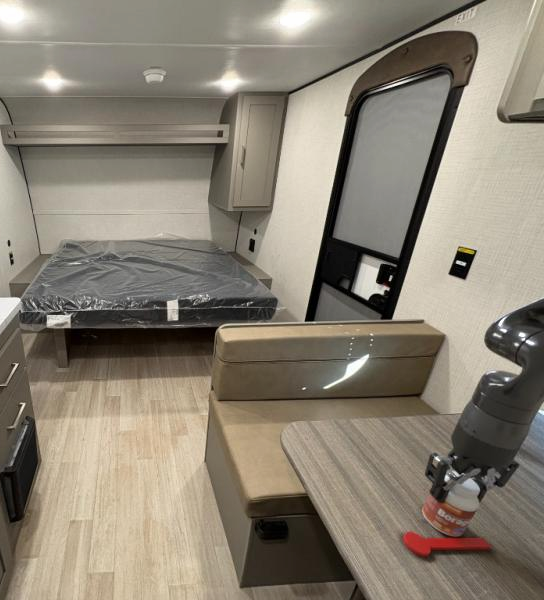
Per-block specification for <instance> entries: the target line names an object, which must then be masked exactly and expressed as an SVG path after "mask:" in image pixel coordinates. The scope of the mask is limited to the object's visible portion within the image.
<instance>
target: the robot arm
mask: <svg viewBox="0 0 544 600" xmlns="http://www.w3.org/2000/svg"><path fill="white" fill-rule="evenodd" d="M483 341H484V346H485V347H486V348H487V349H488V350H489V351H490V352H492V353H493V354H495V355H497V356H499V357H501V358H502V359H504V360H506V361H508V362H509V363H512V364H514V365H516V366H518V367H520V368H521V371H520V373H514V372H510V371H506V370H498V369H497V370H495V369H493V370H490V371H486V372H485V373H483V374H482V376H481V377H480V379H479V381H478V383H477V385H476V387H475V389H474V390H473V393H472V395H471V398H470V399H469V400H468V402H467V404H466V405H465V406H464V408H463V410H462V412H461V414H460V417H459V419H458V420H457V423H456V425H455V427H454V429H453V432H452V434H451V436H450V440H451V443H452V449H451V450H450V451H449V452H448V453H447V454H446V455H442V456H440V455H439V454H438V453H437V452H431V453H430V454H429V458H428V461H427V464H426V468H425V472H424V476H425V477H426V479H428V481H429V482H430V483H431V484H432V485H431V487H430V489H429V494H431V495H432V497H433V498H434V499H435V500H436V501H437V502H438V503H444V502H445V500H446V498H447V496H448V494H449V492H450V489H451V488H452V487H453V486H455V485H456V484H463V483H464V482H465V481H466V480H468V479H469V478H471V479H472V480H473V481H474V482H476V484H477V485H478V486H479V488H480V492H479V494H478V496H477V498H478V500H479V504H480V503H481V502H482V500H483V499H484V498H485V495H486V494H487V492H488V491H491V490H493V489H494V488H495V487H496V486H497V488H503V487H505V486H506V484H507V483H508V482H509V481H510V480H511V478H512V476H513V475H514V474H515V472H516V471H517V470H518V468H519V467H520V464H519V462H517V461H516V460H515V458H516V456H517V455H518V452H519V451H520V449H521V448H522V445H523V444H524V442H525V441H526V439H527V437H528V435H529V433H530V431H531V426H532V424H533V422H534V420H535V419H536V416H537V415H538V413H539V411H540V409H541V407H542V406H543V404H544V296H543V297H541V298H539V299H536V300H534V301H532V302H530V303H527V304H525V305H522V306H521V307H518V308H517V309H514V310H512V311H510V312H508V313H506V314H504V315H502V316H500V317H499V318H497V319H495V320H494V321H493V322H492V323H491V324H490V325H489V327H487V329H486V331H485V333H484V337H483ZM451 469H452V470H451ZM452 471H455V472H457V473H458V474H459V476H458V477H457V476H456V475H455V474H454V473H453V472H452ZM496 473H498V474H499V475H500V476H499V477H497V476H496V475H495V474H496ZM446 475H448V476H449V477H450V479H449V480H448V481H447V482H446V481H445V480H444V479H445V476H446Z"/></svg>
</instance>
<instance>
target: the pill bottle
mask: <svg viewBox="0 0 544 600" xmlns="http://www.w3.org/2000/svg"><path fill="white" fill-rule="evenodd" d="M451 471H452V472H453V473H454V474H455V475H456V476H457V477H458V476H459V474H458V473H457V472H456V471H455V470H451ZM449 479H450V477H449V476H448V475H446V476H445V479H444V480H445V481H446V482H447V481H448V480H449ZM472 479H473V478H469V479H468V480H466V481H465V482H464V483H463V484H456V485H455V486H453V487H452V488H451V489H450V492H449V494H448V496H447V498H446V500H445V502H444V503H438V502H437V501H436V500H435V499H434V498H433V497H432V495H431V494H430V493H429V494H428V496H427V498H426V500H425V502H424V504H423V506H422V509H421V511H422V515H423V517H424V519H425V520H426V521H427V523H428V524H429V525H430V526H431V527H433V528H434V529H435V530H436V531H439V532H440V533H442V534H443V535H445V536H449V537H453V538H458V537H461V536H462V535H463V534H464V533H465V532H466V530H467V528H468V526H469V525H470V523H471V521H472V519H473V517H474V516H475V514H476V512H477V511H478V509H479V507H480V503H479V500H478V498H477V496H478V494H479V492H480V488H479V486H478V485H477V484H476V482H474V481H473V480H472Z"/></svg>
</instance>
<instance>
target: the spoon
mask: <svg viewBox="0 0 544 600" xmlns="http://www.w3.org/2000/svg"><path fill="white" fill-rule="evenodd" d="M402 541H403V543H404V544H405V546H406V547H407V548H408V549H409V550H410V551H411V552H412V553H413V554H415V555H416V556H419V557H423V558H424V557H425V558H426V557H428V556H430V554H431V552H432V551H456V550H458V551H461V550H463V551H464V550H467V551H468V550H472V551H473V550H474V551H475V550H479V551H480V550H492V546H491V544H490V543H488V542H487V540H486V539H485V538H484V537H445V538H444V537H443V538H442V537H440V538H439V537H438V538H437V537H435V538H433V537H432V538H431V537H430V538H427V537H425V538H424V537H423V536H421V535H419V534H418V533H417V532H413V531H407V532H405V533H404V535H403V539H402Z"/></svg>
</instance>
